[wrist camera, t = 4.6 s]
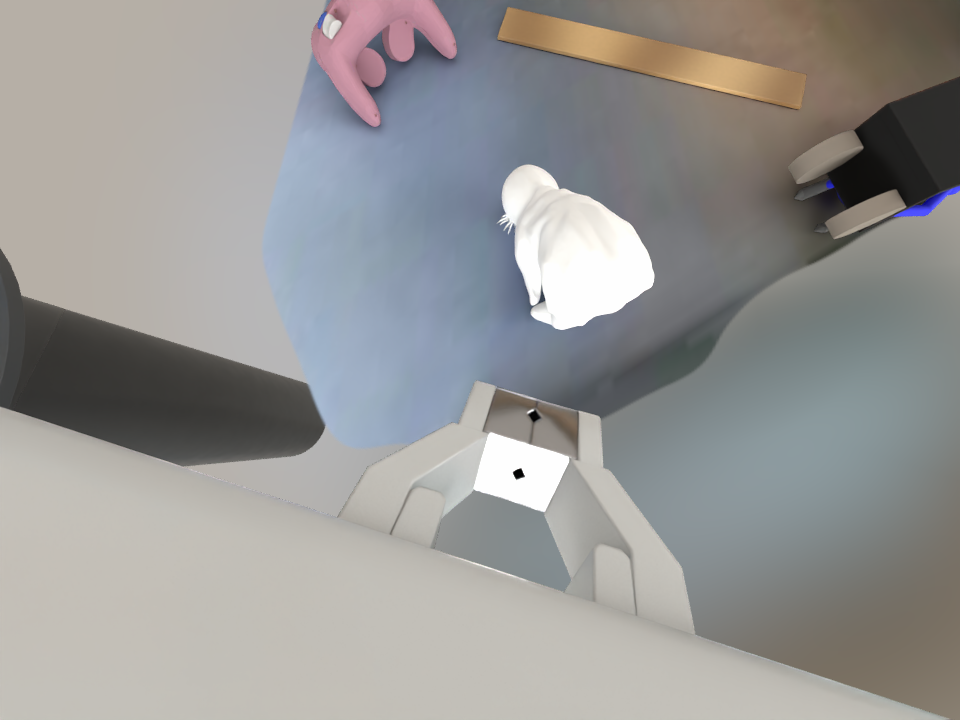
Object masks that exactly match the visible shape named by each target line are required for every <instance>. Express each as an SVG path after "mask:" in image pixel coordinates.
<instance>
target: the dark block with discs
mask: <svg viewBox="0 0 960 720" xmlns="http://www.w3.org/2000/svg"><path fill="white" fill-rule="evenodd" d="M788 168H789V170H790V172H791V174H792V176H793V178H794V179H795V181H796V183H797V184H801V183H805V182H808V181H810V180H813V179H815V178H817V177H820V176H822V175H824V174H826V173H827V175H828V177H829V178H827V179H824V180H822V181H819V182H817V183H815V184H812V185H810V186H808V187H805V188H803V189H800V190H799V191H798V193H797V194H796V196H795V197H794V199H798V200H801V201H803V200H805V199H807V198H809V197H812V196H814V195H817V194H819V193H821V192H824V191H826V190H829V189H831V188H835V189H836V191H837V194H838V197H839V199H840V201H841V202H842V203H843V205H844V206H845V207H846V209H847V210H845V211H843V212H841V213H840V214H838V215H836V216H834V217H832V218H831V219H829V220H828V221H825V222H823V223H820V224H818V225H817V226H816V228H815V230H814V232H822V233H825V232H827V231H829V232H830V234H831V235H832V237H833V239H837V238H840V237H843V236H846V235H848V234H851V233H853V232H856V231H859V232H861V231H864V230H867V229H869V228H871V227H873V226H875V225H877V224H879V223H881V222H883V221H885V220H887V219H889V218H891V217H898V216H926V215H928V214H929V213H930V212H931V211H932V210H933V209H934V208H935V207H936V206H937V205H938V204H939V203H940V202H941V201H942V200H943V199H944V198H945V197H946V196H947V195H952V194H955V193H957V192H958V191H959V190H960V77H957V78H954V79H952V80H949V81H946V82H944V83H941V84H938V85H936V86H933V87H931V88H928V89H925V90H923V91H920V92H917V93H915V94H912V95H909V96H907V97H904V98H901V99H899V100H896V101H893V102H891V103H888V104H886V105H885V106H884V107H883V108H881V109H880V110H879V111H878V112H877V113H875V114H874V115H873V116H872V117H870V118H869V119H868V120H866V121H865V122H864V123H863V124H861V125H860V126H859V127H857V128H856V129H855V130H849V131H846V132H843V133H840V134H838V135H835V136H833V137H831V138H829V139H827V140H825V141H823V142H821V143H819V144H818V145H816V146H814V147H813V148H811V149H809V150H808V151H806V152H805V153H803V154H802V155H800V156H799V157H798V158H797V159H795V160H794V161H793V162H792V163H791V164H790V165H789V167H788ZM925 200H926V201H925ZM923 201H925V202H924V203H923V204H922V205H917V204H919V203H921V202H923Z"/></svg>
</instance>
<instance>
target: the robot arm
mask: <svg viewBox="0 0 960 720" xmlns="http://www.w3.org/2000/svg"><path fill="white" fill-rule="evenodd" d="M495 390H496V391H495ZM494 393H495V394H494ZM473 490H476V491H479V492H483V493H486V494H489V495H493V496H497V497H500V498H503V499H507V500H510V501H513V502H516V503H519V504H522V505H525V506H528V507H530V508H533V509H537V510H539V511H542V512H545V513H544V515H545V517H546V520H547V522H548V525H549V527H550V529H551V532H552V534H553V537H554V539H555V541H556V544H557V546H558V548H559V551H560V553H561V556H562V558H563V560H564V562H565V565H566V568H567V570H568V572H569V574H570V577H571V579H572V580H571V582H570V583H569V585H568V586H567V588H566V589H565V591H564V592H562V591H559V590H556V589H553V588H550V587H547V586H544V585H540V584H538V583H534V582H532V581H529V580H525V579H522V578H520V577H516V576H513V575H510V574H507V573H504V572H501V571H498V570H495V569H492V568H489V567H486V566H483V565H480V564H477V563H474V562H471V561H468V560H465V559H462V558H459V557H456V556H453V555H450V554H447V553H444V552H441V551H438V550H435V549H434V548H435V545H436V540H437V536H438V532H439V528H440V524H441V520H442V517H443V516H444V515H446V514H447V513H448V512H449V511H450V510H452V509H453V508H454V507H455V506H456V505H457V504H459V503H460V502H461V501H462V500H463V499H465V498H466V497H467V496H468V495H469V494H470V493H472V491H473ZM0 720H951V719H948V718H945V717H942V716H939V715H936V714H933V713H930V712H927V711H924V710H921V709H918V708H915V707H912V706H909V705H906V704H903V703H900V702H897V701H894V700H891V699H888V698H884V697H882V696H878V695H875V694H872V693H869V692H866V691H863V690H860V689H857V688H854V687H851V686H848V685H845V684H842V683H839V682H836V681H833V680H830V679H827V678H824V677H821V676H818V675H815V674H812V673H809V672H806V671H803V670H800V669H796V668H793V667H790V666H787V665H784V664H781V663H778V662H775V661H772V660H769V659H766V658H763V657H760V656H757V655H754V654H751V653H748V652H745V651H741V650H738V649H736V648H733V647H730V646H727V645H724V644H720V643H718V642H714V641H711V640H708V639H705V638H702V637H699V636H696V634H695V629H694V624H693V619H692V615H691V609H690V605H689V600H688V595H687V591H686V585H685V580H684V575H683V570H682V567H681V566H680V564H679V563H678V562H677V560H676V559H675V558H674V556H673V555H672V554H671V552H670V551H669V549H668V548H667V547H666V545H665V544H664V543H663V541H662V540H661V539H660V537H659V536H658V535H657V533H656V532H655V531H654V530H653V528H652V527H651V525H650V524H649V523H648V521H647V520H646V519H645V517H644V516H643V514H642V513H641V512H640V510H639V509H638V508H637V507H636V505H635V504H634V503H633V501H632V500H631V498H630V497H629V496H628V494H627V493H626V492H625V490H624V489H623V487H622V486H621V485H620V484H619V482H618V481H617V479H616V478H615V477H614V475H613V474H612V473H611V471H610V470H607V469H604V468H603V454H602V435H601V419H600V417H599V416H597V415H593V414H589V413H585V412H582V411H575V410H572V409H569V408H565V407H562V406H558V405H555V404H551V403H548V402H544V401H541V400H538V399H535V398H532V397H529V396H526V395H523V394H520V393H516V392H513V391H510V390H507V389H504V388H501V387H498V386H497V388H496V386H494V385H491V384H487V383H484V382H481V381H478V380H476V381H475V383H474V384H473V387H472V389H471V392H470V395H469V397H468V400H467V402H466V405H465V407H464V410H463V412H462V415H461V417H460V420H459V422H458V424H456V423H453V422H451V423H449V424H448V425H446V426H444V427H442V428H440V429H438V430H436V431H434V432H432V433H431V434H429V435H427V436H425V437H423V438H421V439H419V440H417V441H415V442H413V443H412V444H410V445H408V446H406V447H404V448H402V449H400V450H399V451H396V452H395V453H393V454H391V455H389V456H387V457H386V458H383V459H381V460H380V461H378V462H376V463H374V464H372V465H370V466H368V467H367V468H366V470H365V472H364V473H363V475H362V477H361V478H360V480H359V482H358V483H357V485H356V486H355V488H354V490H353V491H352V493H351V495H350V497H349V498H348V500H347V501H346V503H345V505H344V506H343V508H342V510H341V511H340V513H339V515H338V517H334V516H331V515H328V514H325V513H322V512H319V511H316V510H312V509H310V508H307V507H304V506H301V505H298V504H295V503H292V502H289V501H286V500H283V499H280V498H276V497H273V496H271V495H267V494H264V493H261V492H258V491H255V490H252V489H249V488H246V487H243V486H240V485H237V484H234V483H231V482H228V481H224V480H222V479H219V478H216V477H213V476H210V475H207V474H204V473H200V472H198V471H195V470H191V469H188V468H185V467H182V466H179V465H176V464H173V463H170V462H167V461H164V460H161V459H158V458H155V457H152V456H149V455H146V454H143V453H140V452H137V451H134V450H131V449H128V448H125V447H122V446H118V445H115V444H112V443H109V442H106V441H103V440H100V439H97V438H94V437H91V436H88V435H85V434H82V433H79V432H76V431H73V430H70V429H67V428H64V427H61V426H58V425H55V424H52V423H48V422H45V421H42V420H39V419H36V418H33V417H30V416H27V415H24V414H21V413H18V412H15V411H12V410H9V409H6V408H3V407H0Z"/></svg>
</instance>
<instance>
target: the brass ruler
mask: <svg viewBox="0 0 960 720" xmlns="http://www.w3.org/2000/svg"><path fill="white" fill-rule="evenodd" d="M498 40H502V41H506V42H511V43H515V44H519V45H524V46H528V47H532V48H537V49H541V50H545V51H549V52H554V53H558V54H562V55H567V56H571V57H575V58H580V59H584V60H588V61H592V62H597V63H601V64H605V65H610V66H614V67H618V68H623V69H627V70H631V71H635V72H640V73H644V74H648V75H653V76H657V77H661V78H665V79H670V80H674V81H678V82H683V83H687V84H691V85H696V86H700V87H704V88H708V89H713V90H717V91H721V92H726V93H730V94H734V95H739V96H743V97H747V98H751V99H756V100H760V101H764V102H769V103H773V104H777V105H782V106H786V107H790V108H794V109H799V108H800V107H801V105H802V99H803V93H804V88H805V82H806V76H807V74H802V73H798V72H793V71H789V70H785V69H780V68H776V67H771V66H767V65H763V64H758V63H754V62H749V61H745V60H740V59H736V58H732V57H727V56H723V55H718V54H714V53H709V52H705V51H701V50H696V49H692V48H687V47H683V46H679V45H674V44H670V43H665V42H661V41H656V40H652V39H648V38H643V37H639V36H634V35H630V34H626V33H621V32H617V31H612V30H608V29H603V28H599V27H595V26H590V25H586V24H581V23H577V22H572V21H568V20H564V19H559V18H555V17H550V16H546V15H542V14H537V13H533V12H528V11H524V10H519V9H515V8H511V7H508V8H507V11H506V14H505V17H504V20H503V22H502V25H501V28H500V31H499V34H498Z"/></svg>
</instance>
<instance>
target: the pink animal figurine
mask: <svg viewBox="0 0 960 720" xmlns="http://www.w3.org/2000/svg"><path fill="white" fill-rule="evenodd" d="M413 28H416V29H418V30H419V31H420V32H422V33H423V34H424V35H425V37H426V38H427V39H428V40H429V41H430V42H431V44H432V45H433V46H434V47H435V48H436V49H437V50H438V51H439V52H440V53H441V54H442V55H444V56H445V57H447V58H449V59H452V58H454V57H455V55H456V52H457V46H456V41H455V38H454V35H453V33H452V30H451V28H450V27H449V25H448V23H447V22H446V20H445V18H444V17H443V15H442V14H441V12H440V11H439V9H438V7H437V6H436V4H435V3H434V1H433V0H331V2H330V3H329V4H328V6H327V8H326V10H325V12H324V13H323V14H322V15H321V17H320V18H319V21H318V23H317V24H316V25H315V27H314V29H313V32H312V38H311V45H312V50H313V53H314V56H315V58H316V60H317V62H318V63H319V65H320V66H321V67H322V68H323V70H324V71H326V72H327V74H328V76H329V77H330V79H331V81H332V82H333V84H334V85H335V87H336V88H337V90H338V91H339V92H340V93H341V95H342V96H343V97H344V99H345V100H346V101H347V102H348V104H349V105H350V106H351V107H352V109H353V110H354V111H355V112H356V113H357V114H358V115H359V116H360V117H361V118H362V119H363V120H364V121H365V122H367V123H368V124H370V125H371V126H373V127H377V126H379V125H380V123H381V117H380V113H379V110H378V108H377V105H376V103H375V101H374V100H373V98H372V97H371V95H370V94H369V92H368V90H367V89H366V87H365V86H364V85H366V86H370V87H378V86H379V85H381V84H382V82H383V81H384V79H385V76H386V67H385V63H384V61H383V59H382V57H381V56H380V55H379V54H378V53H377V52H376V51H374V50H373V49H370V48H367V47H365V46H366V45H367V44H368V43H369V42H370V41H371V40H372V39H373V38H374V37H375V36H376V35H377V34H378V33H379V32H380V31H381V30H383V31H382V41H383V45H384V49H385V51H386V53H387V54H388V56H389V57H390V58H391V59H393V60H396V61H407V60H409V59H410V58H411V57H412V55H413V53H414V34H413Z"/></svg>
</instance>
